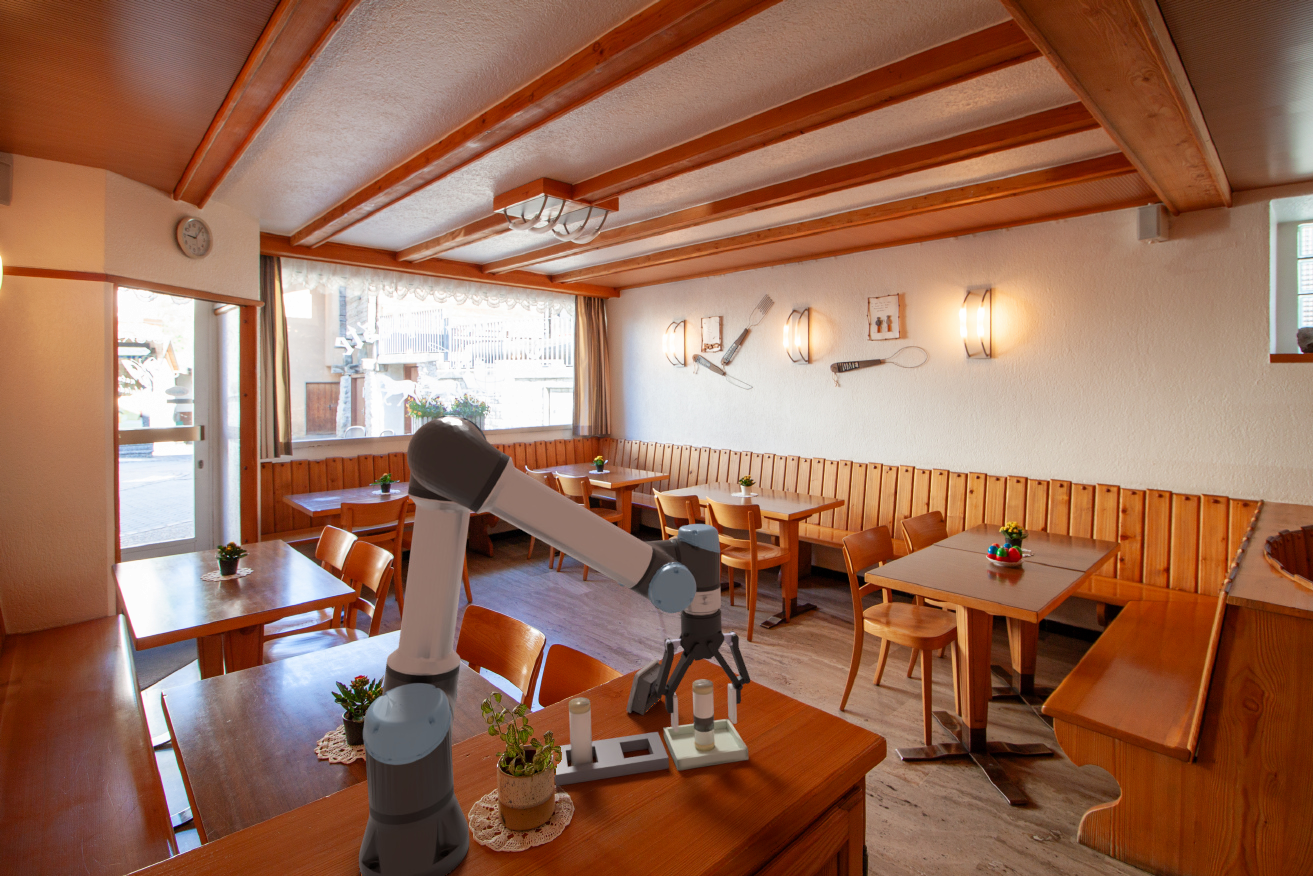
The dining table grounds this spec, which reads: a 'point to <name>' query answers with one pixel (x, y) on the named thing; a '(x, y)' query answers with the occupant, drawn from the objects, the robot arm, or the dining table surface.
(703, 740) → the fuse
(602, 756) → the fuse block
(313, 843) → the dining table surface
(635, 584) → the robot arm
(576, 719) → the fuse
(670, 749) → the parts tray
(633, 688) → the electrical switch
